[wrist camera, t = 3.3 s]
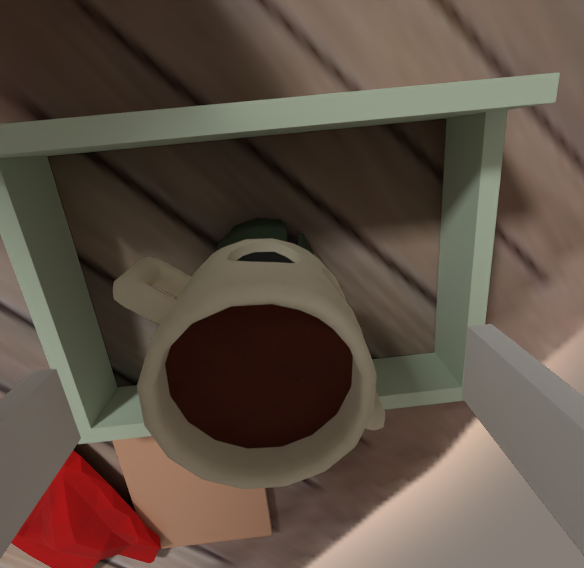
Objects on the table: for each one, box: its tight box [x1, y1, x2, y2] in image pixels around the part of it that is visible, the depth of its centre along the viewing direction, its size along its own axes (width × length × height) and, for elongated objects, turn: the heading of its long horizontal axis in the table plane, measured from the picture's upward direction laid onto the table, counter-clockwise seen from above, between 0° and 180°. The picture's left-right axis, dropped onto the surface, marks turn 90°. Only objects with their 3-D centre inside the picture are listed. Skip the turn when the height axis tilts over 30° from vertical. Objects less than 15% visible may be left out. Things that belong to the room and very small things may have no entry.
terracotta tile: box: [112, 436, 272, 549], centre depth 28 cm, size 10×12×1 cm
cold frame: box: [0, 72, 560, 444], centre depth 20 cm, size 24×17×7 cm
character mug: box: [113, 218, 385, 489], centre depth 17 cm, size 11×7×13 cm, turn 57°
